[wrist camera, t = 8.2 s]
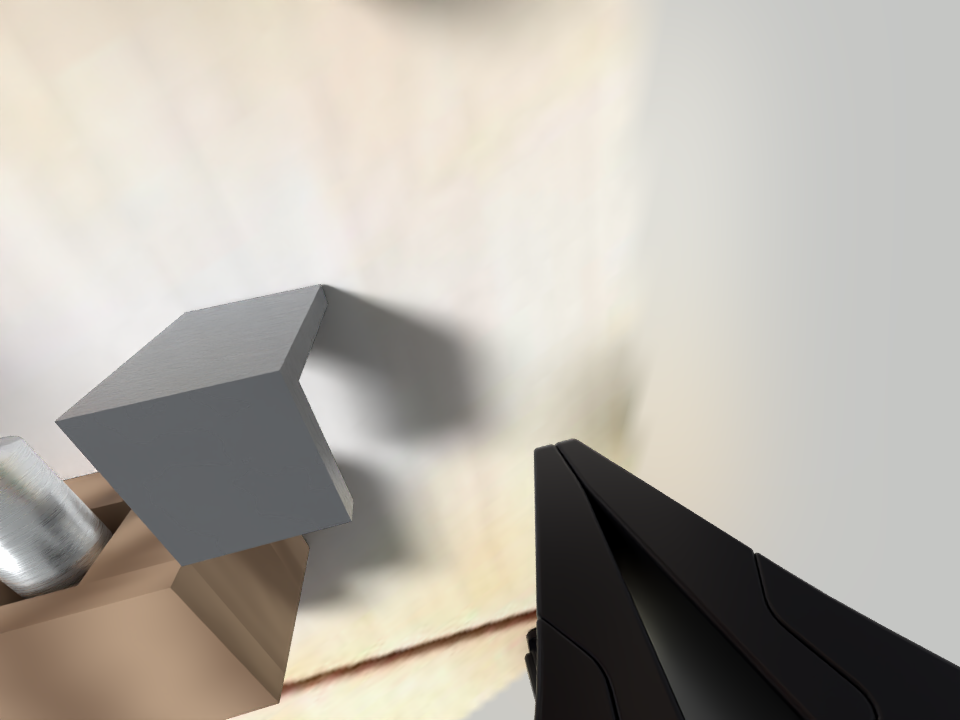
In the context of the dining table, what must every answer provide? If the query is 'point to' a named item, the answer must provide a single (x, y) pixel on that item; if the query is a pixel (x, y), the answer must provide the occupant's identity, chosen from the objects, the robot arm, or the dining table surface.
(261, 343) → the bracket
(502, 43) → the dining table surface
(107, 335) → the dining table surface
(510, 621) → the dining table surface
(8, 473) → the pin
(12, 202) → the dining table surface
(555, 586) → the robot arm
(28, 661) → the hitch block
